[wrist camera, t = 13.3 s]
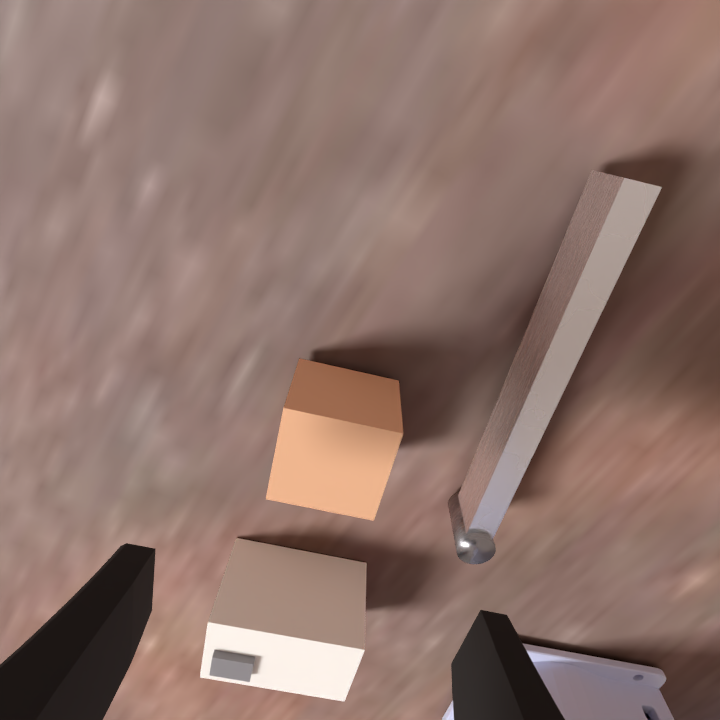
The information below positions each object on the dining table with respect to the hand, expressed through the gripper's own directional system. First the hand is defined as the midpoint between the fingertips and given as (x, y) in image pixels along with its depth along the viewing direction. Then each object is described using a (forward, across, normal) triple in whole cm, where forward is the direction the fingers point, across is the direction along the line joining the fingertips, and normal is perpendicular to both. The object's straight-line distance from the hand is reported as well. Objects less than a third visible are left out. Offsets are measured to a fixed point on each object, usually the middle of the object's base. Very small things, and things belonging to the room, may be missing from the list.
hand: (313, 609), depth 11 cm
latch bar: (+8, -6, -3) cm, 10 cm away
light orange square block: (+8, 0, 0) cm, 8 cm away
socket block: (+8, 0, +10) cm, 13 cm away
